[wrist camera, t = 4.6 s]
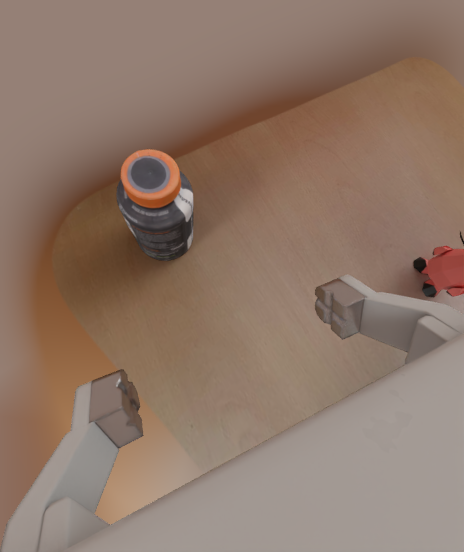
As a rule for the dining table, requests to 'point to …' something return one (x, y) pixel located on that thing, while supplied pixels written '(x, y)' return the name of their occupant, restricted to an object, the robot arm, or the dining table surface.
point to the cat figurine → (443, 271)
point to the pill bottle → (156, 204)
